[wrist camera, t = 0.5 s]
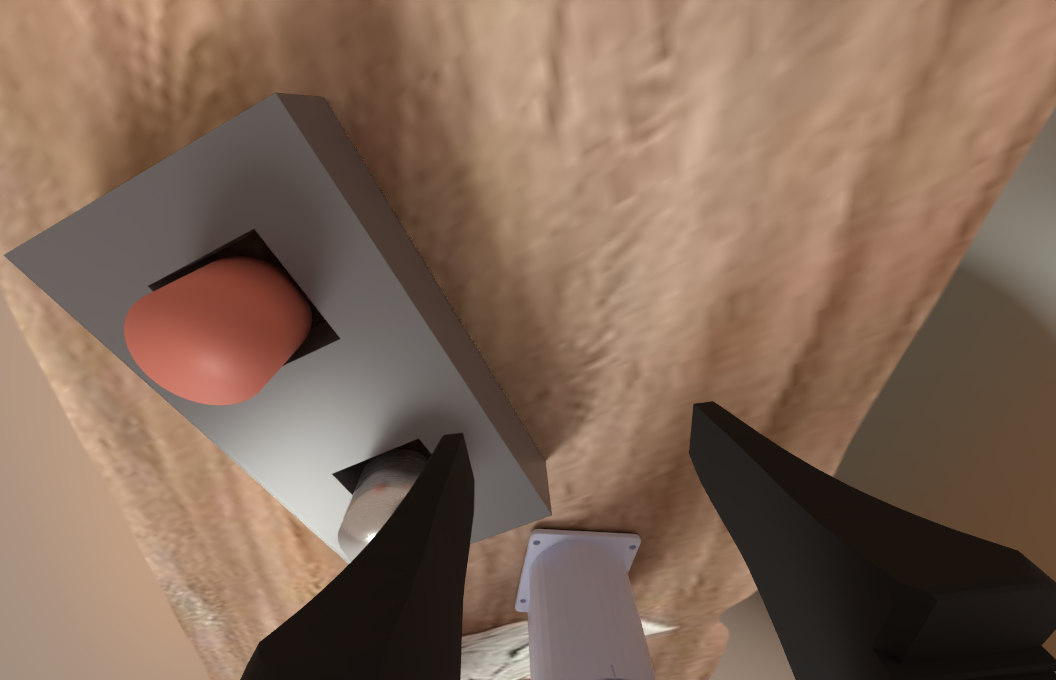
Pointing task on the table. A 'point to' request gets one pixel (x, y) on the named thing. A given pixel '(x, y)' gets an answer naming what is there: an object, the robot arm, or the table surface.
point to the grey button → (378, 496)
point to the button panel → (335, 290)
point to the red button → (219, 330)
